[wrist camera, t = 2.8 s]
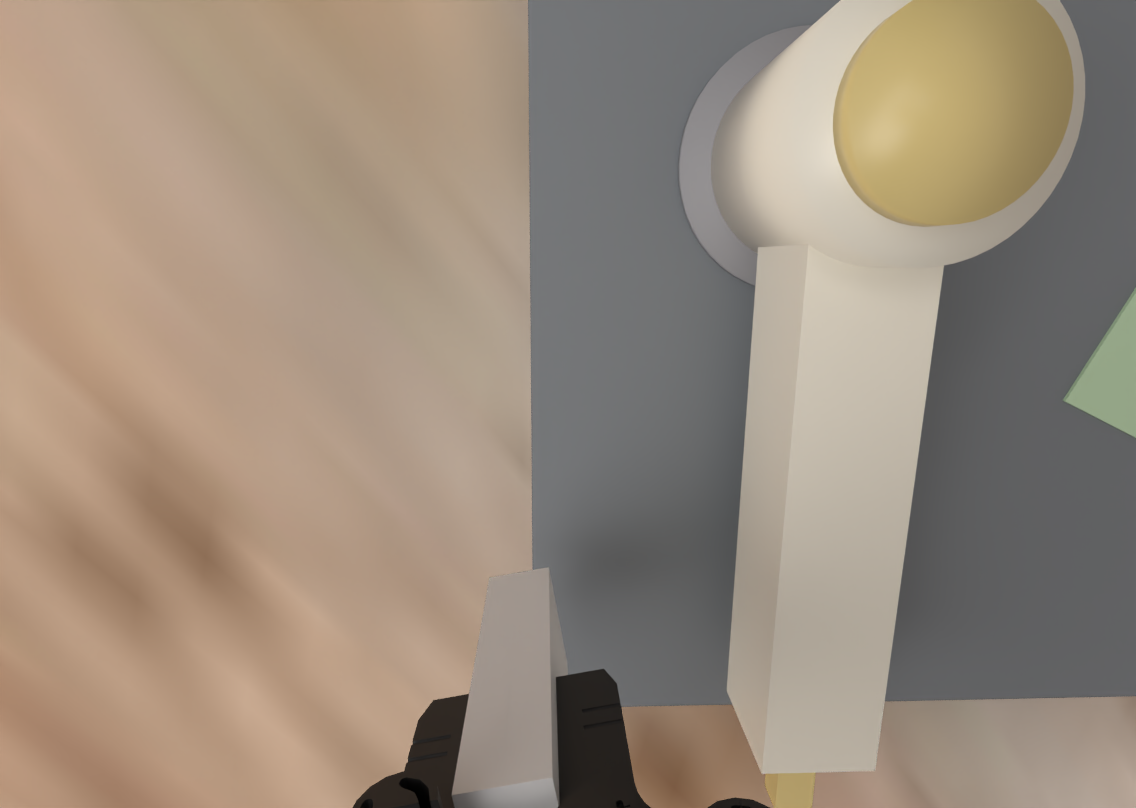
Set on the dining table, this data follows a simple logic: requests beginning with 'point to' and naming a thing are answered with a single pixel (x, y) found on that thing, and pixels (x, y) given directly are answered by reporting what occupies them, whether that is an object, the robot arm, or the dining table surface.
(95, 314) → the dining table surface
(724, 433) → the board
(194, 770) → the dining table surface
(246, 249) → the dining table surface
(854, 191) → the peg lever
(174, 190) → the dining table surface
